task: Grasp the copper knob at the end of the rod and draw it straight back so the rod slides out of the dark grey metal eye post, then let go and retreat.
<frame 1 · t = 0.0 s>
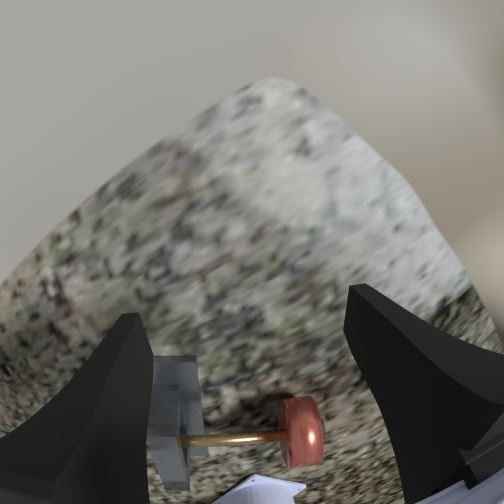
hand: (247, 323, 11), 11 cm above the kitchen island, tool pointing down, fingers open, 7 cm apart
eye post: (173, 410, 25), on the kitchen island
copper knob on rod: (214, 440, 22), point 4 cm above the kitchen island, slide at 0.0 cm
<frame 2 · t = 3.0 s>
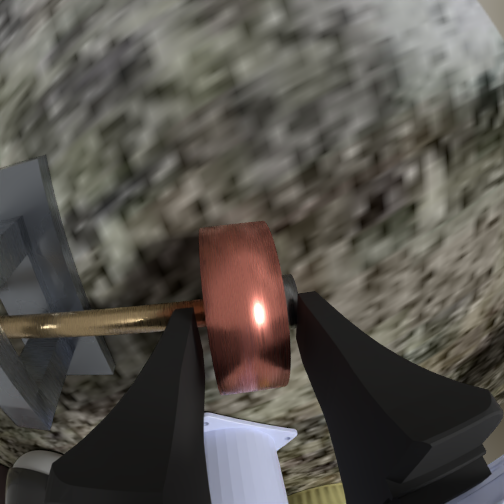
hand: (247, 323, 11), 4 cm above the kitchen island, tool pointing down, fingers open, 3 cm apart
potted cactus: (312, 497, 34), on the kitchen island
bottle: (8, 471, 25), on the kitchen island
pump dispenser: (60, 461, 23), on the kitchen island
eye post: (38, 282, 14), on the kitchen island
copper knob on rod: (71, 324, 11), point 4 cm above the kitchen island, slide at -0.1 cm, touching gripper
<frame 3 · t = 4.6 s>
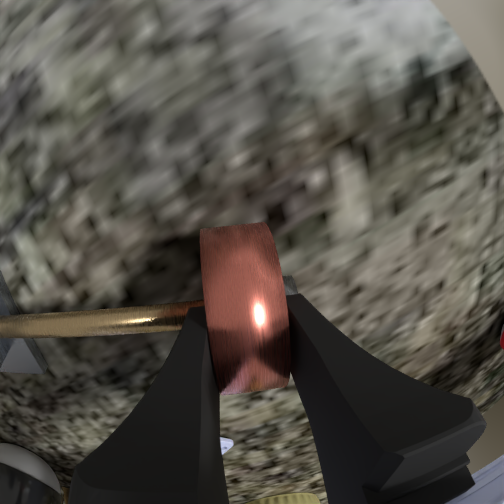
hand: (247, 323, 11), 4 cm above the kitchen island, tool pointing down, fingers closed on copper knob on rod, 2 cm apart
rock: (95, 501, 30), on the kitchen island
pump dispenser: (24, 454, 23), on the kitchen island
copper knob on rod: (72, 324, 11), point 3 cm above the kitchen island, slide at 4.8 cm, touching gripper
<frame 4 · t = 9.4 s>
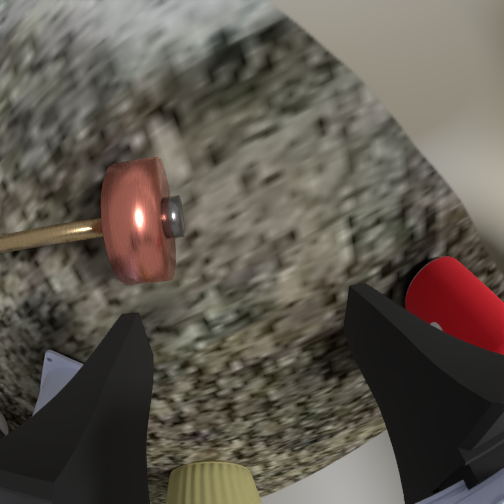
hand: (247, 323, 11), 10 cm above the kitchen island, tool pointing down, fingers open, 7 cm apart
potted cactus: (210, 475, 37), on the kitchen island
beverage can: (429, 282, 25), on the kitchen island
copper knob on rod: (32, 238, 15), point 3 cm above the kitchen island, slide at 9.0 cm
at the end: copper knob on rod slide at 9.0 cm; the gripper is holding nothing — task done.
